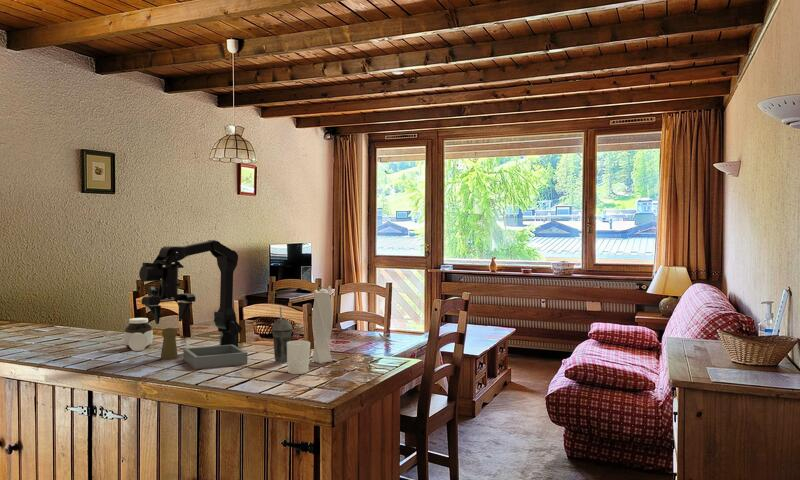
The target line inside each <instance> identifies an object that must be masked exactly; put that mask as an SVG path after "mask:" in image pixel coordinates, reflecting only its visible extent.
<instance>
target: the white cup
mask: <svg viewBox="0 0 800 480" xmlns="http://www.w3.org/2000/svg"><path fill="white" fill-rule="evenodd" d="M310 350H311V341H309V340H300V339H298V340H290V341H289V342H287V362H286V363H287V372H288V374H290V375H291V374H292V375H303V374H308V372H309V363H310V361H309V360H310V354H311V353H310V352H311V351H310Z"/></svg>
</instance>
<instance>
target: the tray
mask: <svg viewBox="0 0 800 480" xmlns="http://www.w3.org/2000/svg"><path fill="white" fill-rule="evenodd" d="M183 361H185V362H186V363H187V364H188V365H189V366H190V367H192V368H193V369H194V370H200V369H212V368H219V367H229V366H240V365H248V351H245V350H243V349H242V348H238V347H237V346H235V345H221V346H219V345H211V346H210V345H208V346H196V347H188V348H187V347H185V348H183Z"/></svg>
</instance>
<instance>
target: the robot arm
mask: <svg viewBox="0 0 800 480" xmlns="http://www.w3.org/2000/svg"><path fill="white" fill-rule="evenodd" d="M206 252H207V253H208V252H210V253H211V255H212V256H213V258H215V259H216V263H217V267H218V269H219V272H220V287H219V288H220V289H219V291H220V295H219V296H220V297H219V308H218V310H217V311H214V312H213V314H214V317H213V322H214V324H215V325H214V326H215V327H216V328H217V331H218V332H219V333H220V336H219V345H218V346H221V345H235V346H237V347H238V348H240V346H239V334H241V333H242V330H243V328H242V327H243V326H241V325H240V324H239V323H238V322H237V314H236V312H235V310H234V305H233V303H234V302H233V300H234V299H233V298H234V297H233V296H234V294H233V293H234V273H235V270H236V268H237V266H238V262H239V261H238V260H239V254H238V252H236V251H235V250H232V249H231V248H230V247H228V246H226V245H224V244H223V243H221V242H220V241H218V240H217V239H209V240H207V241H202V242H198V243H197V242H196V243H192V244H187V245H183V246H178V245H175V246H173V245H172V246H171V245H169V246H167V245H166V246H162V247H161V248H160V250H159V252H158V255H157V256H156V258H155V259H154V260H153V261H152V262H142V265H141V267H140V269H139V272H138V277H139V280H140V281H141V282H142V283H144V282H159V281H160V282H159V284H158V287H155V286H149V287H147V295H148V296H143V297H142V299H141V305H144V306H145V307H146V308H148V309H149V310H150V311H151V314H152V317H153V319H154V321H155V324H156V325H159V324H160V318H161V311H162V310H161V309H162V306H161V305H160V304H161V303H168V302H169V303H170V302H171V303H172V302H176V303H177V305H178V322H182V321H183V319H184V317H185V314H186V312H187V311H188V309H189V307H190V306H191V305H193V303H194V302H196V295H195V294H193V293H187V292H186V293H178V292H179V290H178V289H179V287H180V286H181V283H180V282H179V269H183V268H184V265H183V264H182V263H181V262H180V261H182V260H184V259H185V258H187V257H189V256H194V255H198V254H202V253H206ZM240 349H241V348H240Z"/></svg>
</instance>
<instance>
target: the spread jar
mask: <svg viewBox="0 0 800 480" xmlns="http://www.w3.org/2000/svg"><path fill="white" fill-rule="evenodd" d="M128 321H129V322H128V324H127V325H126V327H124V331H123V345H124V346H125V347H126V348H127V349H128V350H132V351H134V352H141V351H144V348H145V349H147V348H149V347H150V346H151V345H152V343H153V333H154V332H153V327H152V326H151V325H150V324H149V323H148V322H149V318H148V317H133V318H129V320H128Z"/></svg>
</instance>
